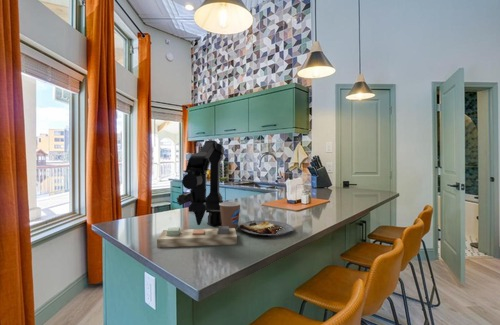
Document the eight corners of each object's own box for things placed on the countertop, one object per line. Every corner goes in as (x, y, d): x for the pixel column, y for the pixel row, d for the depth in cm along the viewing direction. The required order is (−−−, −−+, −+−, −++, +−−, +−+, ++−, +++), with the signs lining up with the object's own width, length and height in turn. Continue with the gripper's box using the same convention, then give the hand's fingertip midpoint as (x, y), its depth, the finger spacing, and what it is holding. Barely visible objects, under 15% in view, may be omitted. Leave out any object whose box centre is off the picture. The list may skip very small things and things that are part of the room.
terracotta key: (204, 238, 105) (204, 229, 104) (204, 241, 100) (204, 232, 100) (193, 238, 104) (193, 230, 104) (192, 241, 100) (192, 233, 100)
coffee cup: (234, 232, 113) (234, 206, 113) (214, 230, 117) (214, 204, 117) (244, 227, 122) (244, 202, 122) (226, 224, 127) (226, 201, 126)
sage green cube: (179, 235, 103) (179, 227, 103) (178, 239, 99) (178, 230, 99) (168, 236, 103) (168, 227, 103) (166, 239, 98) (166, 230, 98)
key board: (234, 234, 110) (234, 228, 110) (236, 244, 98) (236, 236, 98) (163, 237, 106) (163, 230, 106) (156, 247, 94) (156, 239, 94)
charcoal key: (228, 234, 106) (228, 226, 106) (229, 237, 101) (229, 228, 101) (218, 234, 105) (218, 226, 105) (218, 237, 101) (218, 229, 101)
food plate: (264, 242, 100) (264, 233, 100) (229, 230, 117) (229, 222, 117) (302, 232, 117) (302, 224, 117) (266, 223, 134) (266, 216, 134)
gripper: (181, 184, 110) (181, 219, 110) (174, 189, 91) (174, 232, 92) (207, 183, 111) (207, 219, 111) (205, 189, 93) (205, 231, 93)
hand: (198, 224), depth 102 cm, fingers closed
